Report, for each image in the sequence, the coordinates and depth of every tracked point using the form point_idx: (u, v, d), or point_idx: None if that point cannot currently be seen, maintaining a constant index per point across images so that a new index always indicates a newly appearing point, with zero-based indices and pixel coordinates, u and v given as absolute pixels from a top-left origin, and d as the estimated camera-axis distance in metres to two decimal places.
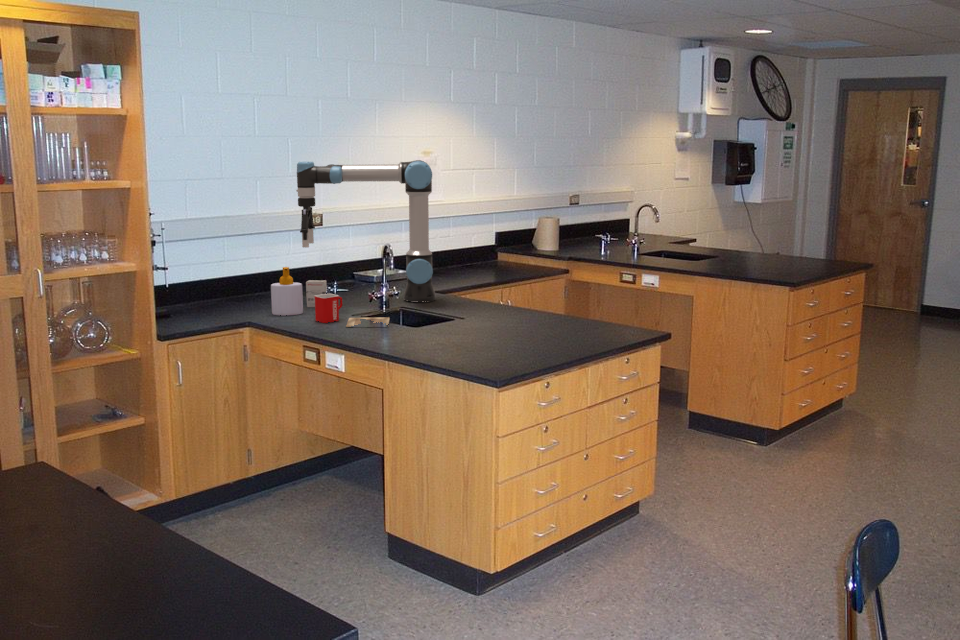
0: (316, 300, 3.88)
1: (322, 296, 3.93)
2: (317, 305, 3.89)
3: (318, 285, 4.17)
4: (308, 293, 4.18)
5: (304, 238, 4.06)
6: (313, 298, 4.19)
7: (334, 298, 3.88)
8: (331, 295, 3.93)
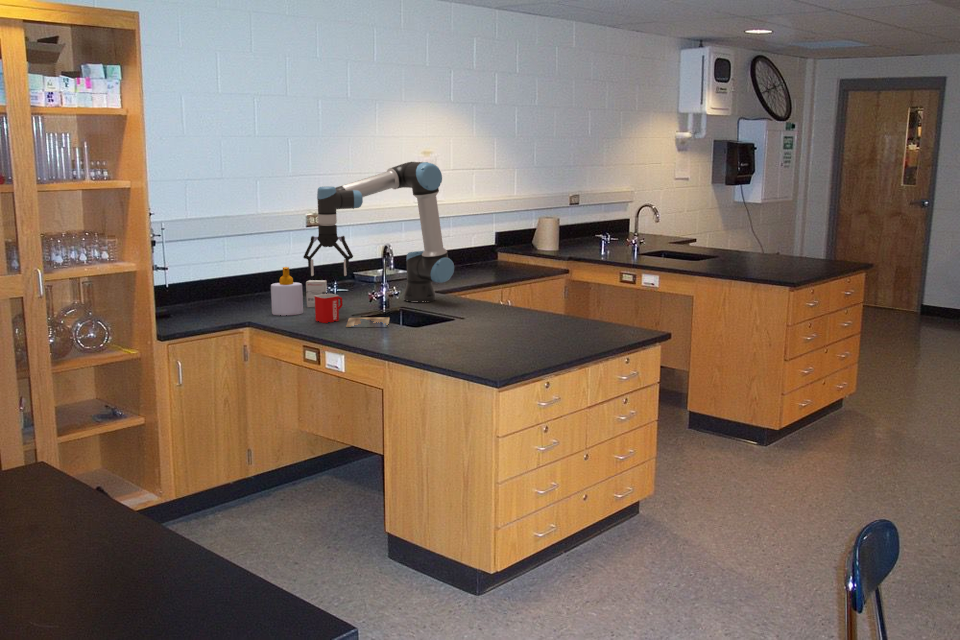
0: (316, 300, 3.88)
1: (322, 296, 3.93)
2: (317, 305, 3.89)
3: (318, 285, 4.17)
4: (308, 293, 4.18)
5: None
6: (313, 298, 4.19)
7: (334, 298, 3.88)
8: (331, 295, 3.93)
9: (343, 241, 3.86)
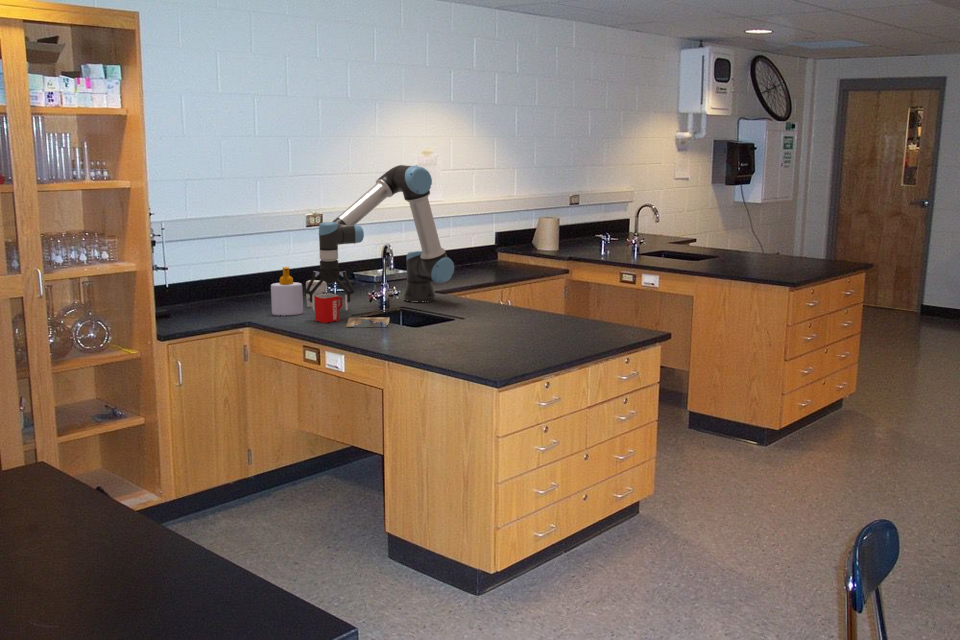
0: (316, 300, 3.88)
1: (322, 296, 3.93)
2: (317, 305, 3.89)
3: None
4: None
5: (310, 300, 3.91)
6: None
7: (334, 298, 3.88)
8: (331, 295, 3.93)
9: (344, 276, 3.88)
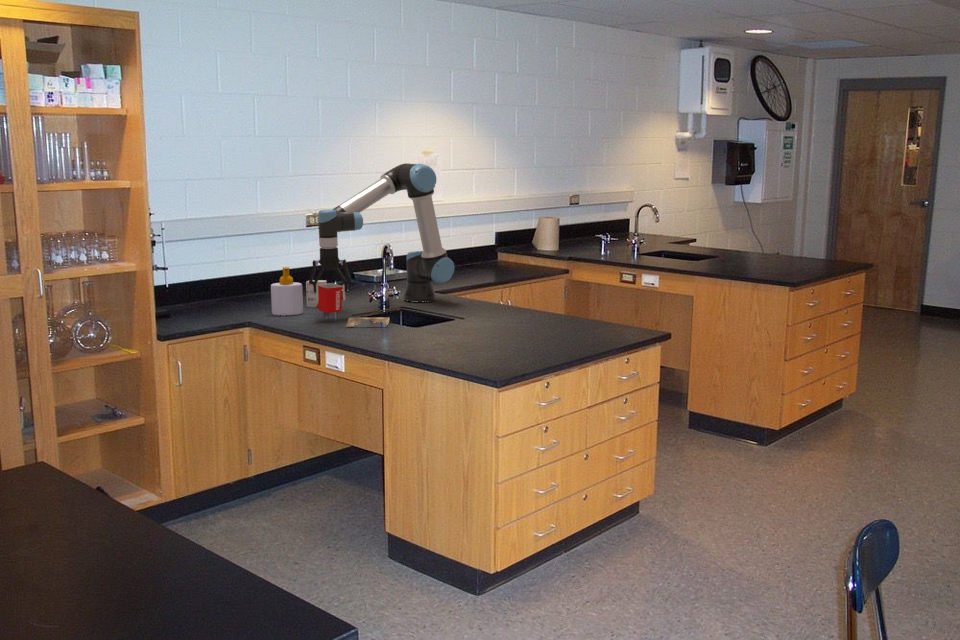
0: (319, 289, 3.88)
1: (326, 286, 3.92)
2: (320, 294, 3.88)
3: None
4: (308, 293, 4.19)
5: None
6: (313, 298, 4.19)
7: (338, 288, 3.87)
8: (335, 285, 3.93)
9: (344, 265, 3.87)
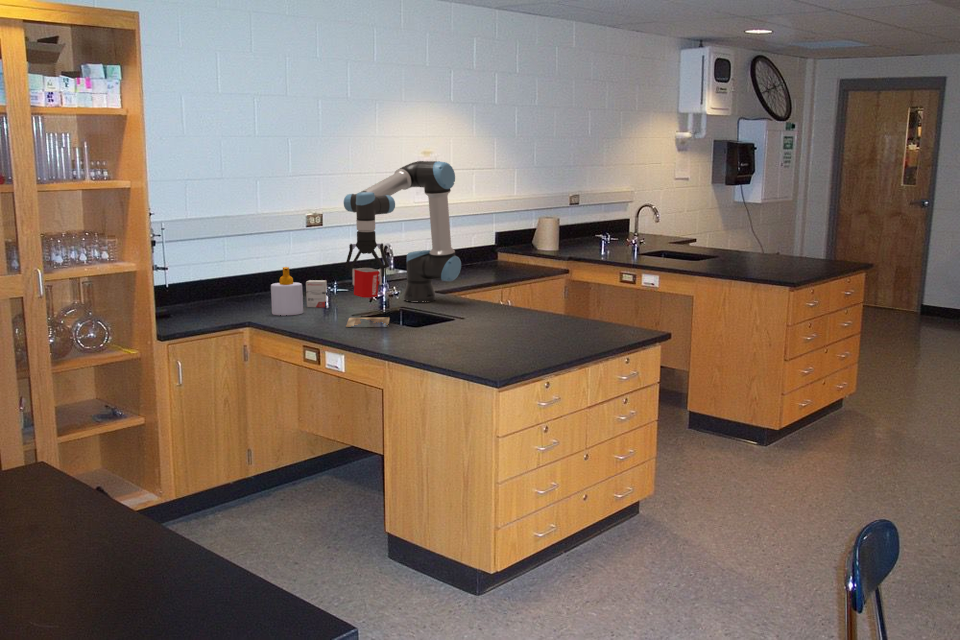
0: (356, 273, 3.80)
1: (362, 270, 3.84)
2: (356, 278, 3.80)
3: (318, 285, 4.17)
4: (308, 293, 4.19)
5: (350, 274, 3.83)
6: (313, 298, 4.19)
7: (375, 273, 3.79)
8: (371, 270, 3.85)
9: (381, 249, 3.80)
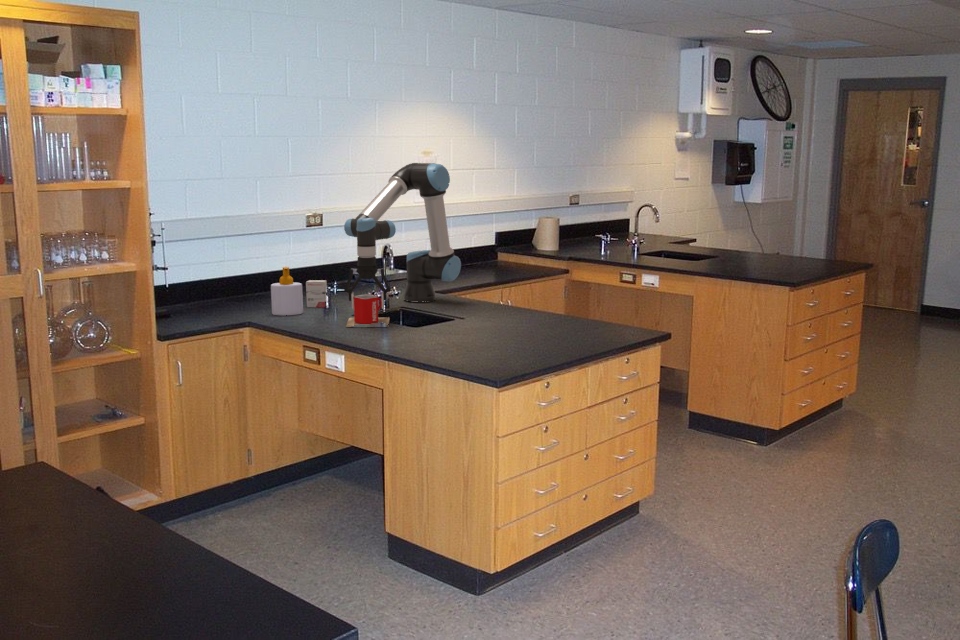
0: (355, 301, 3.82)
1: (361, 297, 3.87)
2: (356, 306, 3.83)
3: (318, 285, 4.17)
4: (308, 293, 4.19)
5: (349, 298, 3.85)
6: (313, 298, 4.19)
7: (374, 299, 3.82)
8: (370, 296, 3.87)
9: (382, 274, 3.82)
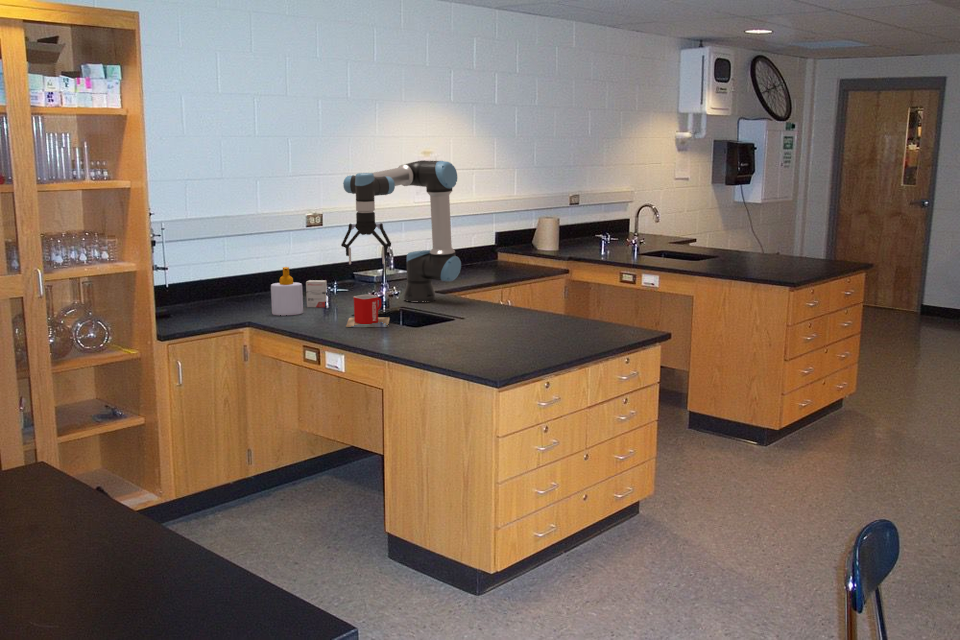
0: (355, 301, 3.82)
1: (361, 297, 3.87)
2: (356, 306, 3.83)
3: (318, 285, 4.17)
4: (308, 293, 4.19)
5: (346, 253, 3.82)
6: (313, 298, 4.19)
7: (374, 299, 3.82)
8: (370, 296, 3.87)
9: (381, 228, 3.79)
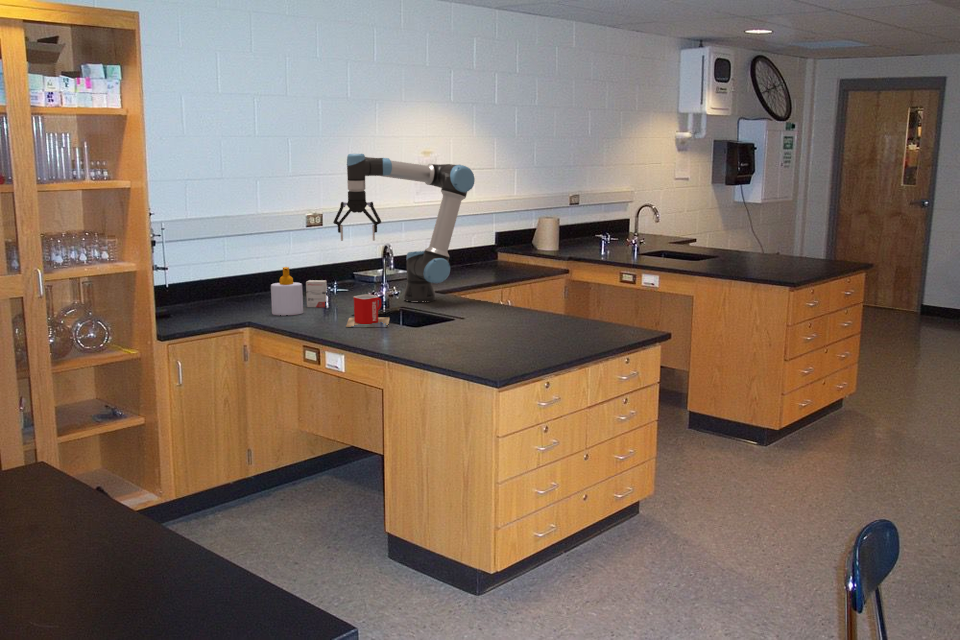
0: (355, 301, 3.82)
1: (361, 297, 3.87)
2: (356, 306, 3.83)
3: (318, 285, 4.17)
4: (308, 293, 4.19)
5: (338, 230, 4.01)
6: (313, 298, 4.19)
7: (374, 299, 3.82)
8: (370, 296, 3.87)
9: (372, 207, 3.98)
